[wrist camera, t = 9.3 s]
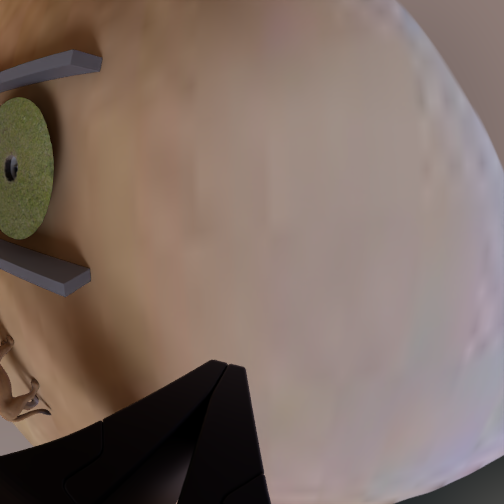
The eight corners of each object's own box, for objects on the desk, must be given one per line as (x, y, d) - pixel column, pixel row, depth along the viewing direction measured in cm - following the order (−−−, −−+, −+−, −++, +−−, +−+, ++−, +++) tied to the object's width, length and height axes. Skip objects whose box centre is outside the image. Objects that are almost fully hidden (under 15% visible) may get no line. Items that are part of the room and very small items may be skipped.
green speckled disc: (86, 110, 18) (67, 108, 16) (60, 254, 22) (43, 262, 20) (7, 91, 18) (-9, 91, 17) (-10, 207, 22) (-25, 212, 21)
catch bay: (90, 281, 21) (65, 297, 19) (-14, 242, 24) (-35, 251, 21) (102, 57, 16) (73, 49, 13) (-12, 86, 19) (-35, 86, 16)
